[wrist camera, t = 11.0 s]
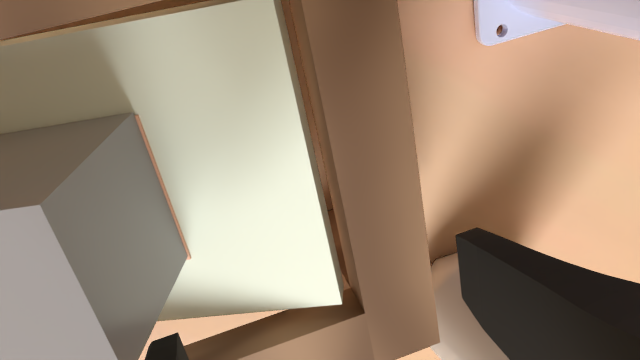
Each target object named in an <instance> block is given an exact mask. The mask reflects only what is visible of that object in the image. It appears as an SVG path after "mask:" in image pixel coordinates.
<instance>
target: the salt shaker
mask: <svg viewBox="0 0 640 360" xmlns="http://www.w3.org/2000/svg"><path fill="white" fill-rule="evenodd" d="M431 273H432V281H433V289H434V297H435V305H436V313H437V321H438V329H439V337H440V343H438V344H435V345H433V346H430V348H431V349H432V350H433V351H434V352H435V353H436V355H437V356H438V357H439V358H440V359H441V360H509V358H508V357H507V356H506V355H505V354H504V353H503V352H502V351H501V349H500V348H499V347H498V346H497V345H496V344H495V343H494V341H493V340H492V339H491V338H490V337H489V336H488V334H487V333H486V332H485V331H484V330H483V328H482V327H481V326H480V324H479V323H478V321H477V320H476V318H475V317H474V315H473V314H472V312H471V311H470V309H469V308H468V306H467V305H466V303H465V302H464V300H463V299H462V294H461V284H460V274H459V264H458V254H457V253H454V254H451V255H448V256H445V257H442V258H439V259H436V260H435V261H434V263H433V264H432V266H431Z"/></svg>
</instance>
